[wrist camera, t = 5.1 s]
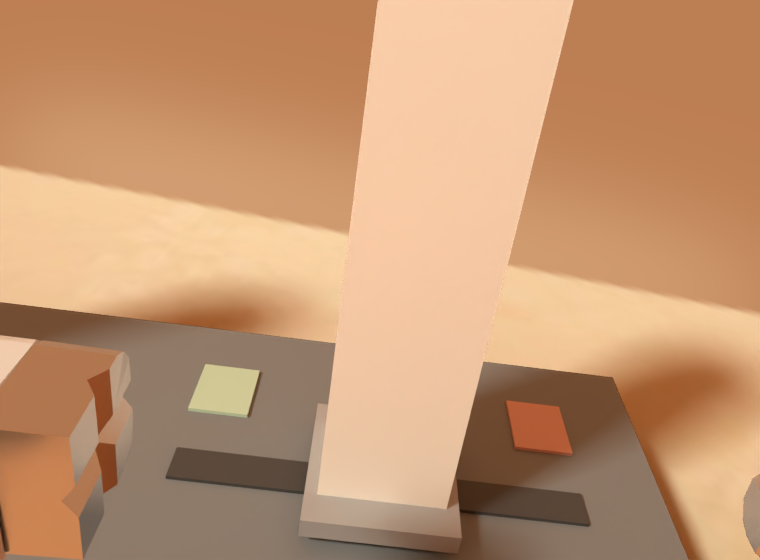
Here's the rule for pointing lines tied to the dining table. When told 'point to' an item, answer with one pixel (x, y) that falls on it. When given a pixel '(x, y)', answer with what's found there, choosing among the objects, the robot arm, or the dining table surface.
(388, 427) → the breaker lever
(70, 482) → the robot arm
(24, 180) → the dining table surface
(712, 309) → the dining table surface
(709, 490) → the dining table surface
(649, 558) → the breaker panel
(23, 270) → the dining table surface
